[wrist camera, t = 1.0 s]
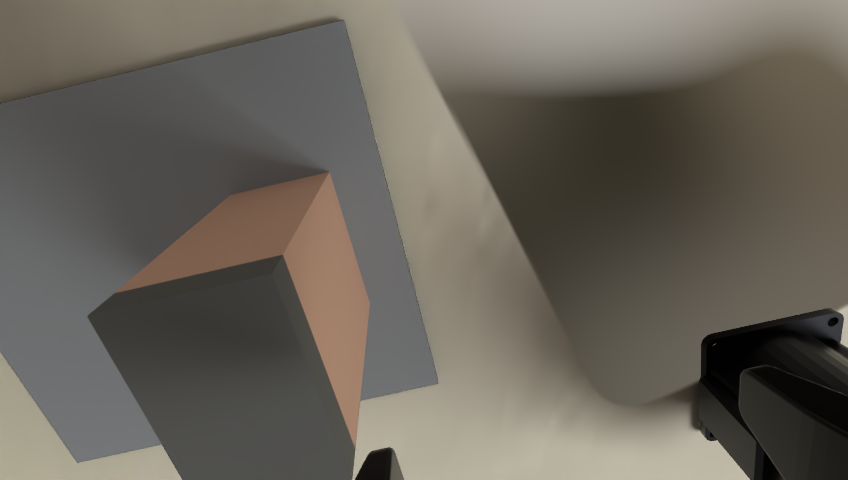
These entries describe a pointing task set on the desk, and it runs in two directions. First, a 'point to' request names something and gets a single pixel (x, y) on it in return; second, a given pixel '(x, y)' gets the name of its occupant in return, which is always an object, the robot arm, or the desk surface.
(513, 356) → the desk surface
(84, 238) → the rubber mat
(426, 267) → the desk surface
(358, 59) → the desk surface
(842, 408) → the robot arm
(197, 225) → the terracotta block
